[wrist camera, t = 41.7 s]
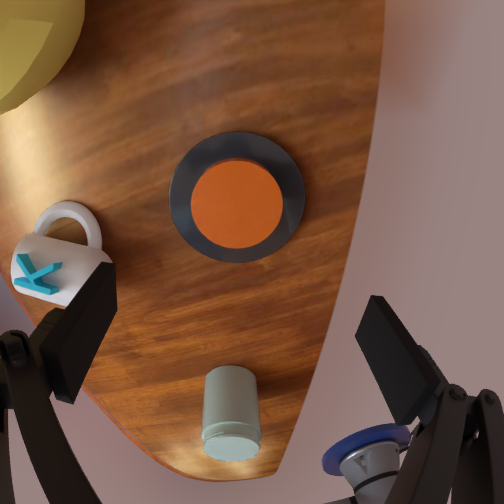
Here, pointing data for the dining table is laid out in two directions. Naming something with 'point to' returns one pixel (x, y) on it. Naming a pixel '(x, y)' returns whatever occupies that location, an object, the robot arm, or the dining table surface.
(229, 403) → the jar
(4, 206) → the dining table surface
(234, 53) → the dining table surface
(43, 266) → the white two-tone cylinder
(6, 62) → the vase
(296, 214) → the mat
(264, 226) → the lid
